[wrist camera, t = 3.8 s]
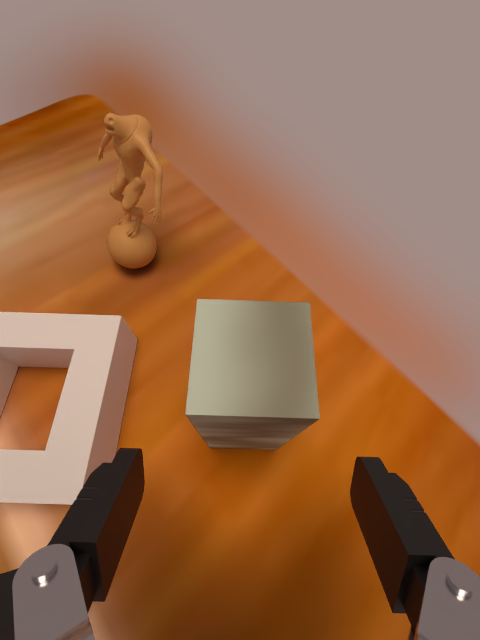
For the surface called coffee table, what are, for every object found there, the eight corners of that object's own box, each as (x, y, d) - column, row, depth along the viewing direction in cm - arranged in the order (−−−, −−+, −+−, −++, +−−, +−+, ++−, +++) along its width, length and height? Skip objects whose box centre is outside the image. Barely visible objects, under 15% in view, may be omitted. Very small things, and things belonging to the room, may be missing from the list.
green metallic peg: (209, 447, 21) (185, 414, 10) (214, 382, 23) (197, 299, 12) (276, 449, 21) (319, 418, 10) (274, 384, 23) (309, 302, 13)
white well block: (-69, 494, 20) (-137, 498, 16) (-2, 335, 25) (-42, 310, 21) (106, 500, 20) (78, 504, 16) (137, 339, 25) (121, 315, 21)
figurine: (97, 241, 29) (17, 103, 18) (153, 212, 31) (110, 71, 20) (143, 302, 26) (80, 180, 16) (202, 266, 28) (182, 134, 17)
